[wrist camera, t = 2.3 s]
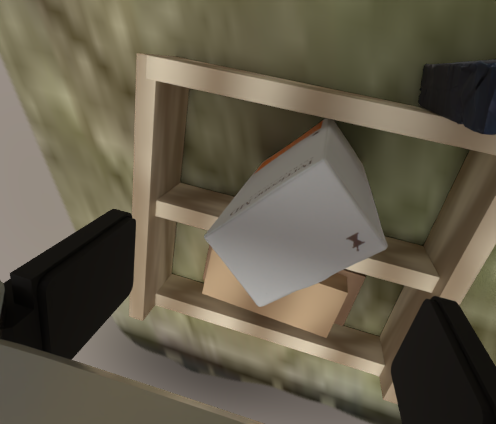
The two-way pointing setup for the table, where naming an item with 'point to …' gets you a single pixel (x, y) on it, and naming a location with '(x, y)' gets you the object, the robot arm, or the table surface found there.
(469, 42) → the table surface
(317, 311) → the upper offcut
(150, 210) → the offcut rack
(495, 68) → the vhs cassette tape
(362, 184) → the skincare box
